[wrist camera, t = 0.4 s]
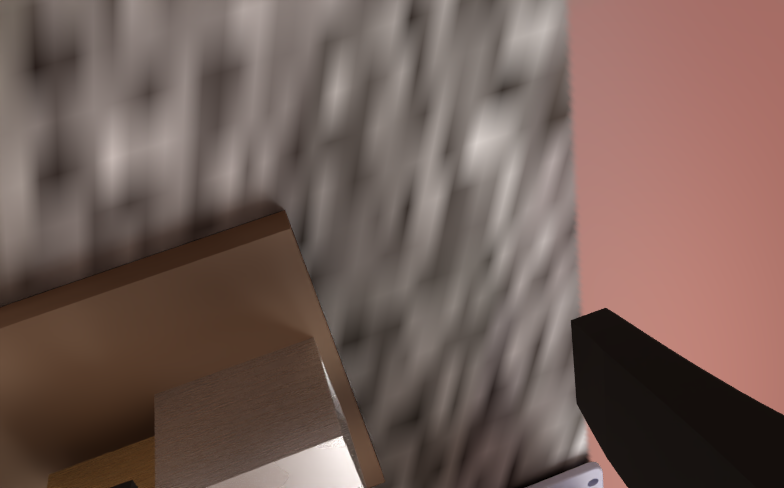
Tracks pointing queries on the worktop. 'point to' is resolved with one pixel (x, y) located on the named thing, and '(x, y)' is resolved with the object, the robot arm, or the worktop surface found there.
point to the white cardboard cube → (256, 427)
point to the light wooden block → (111, 469)
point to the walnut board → (153, 346)
